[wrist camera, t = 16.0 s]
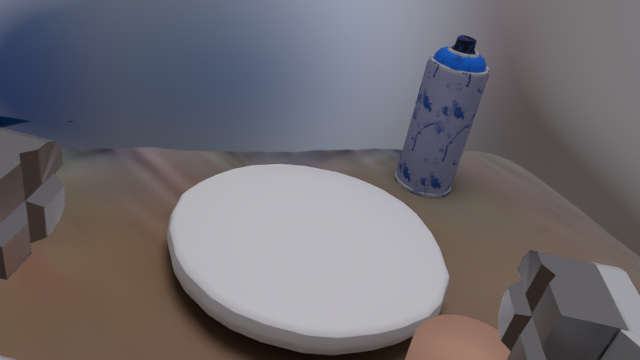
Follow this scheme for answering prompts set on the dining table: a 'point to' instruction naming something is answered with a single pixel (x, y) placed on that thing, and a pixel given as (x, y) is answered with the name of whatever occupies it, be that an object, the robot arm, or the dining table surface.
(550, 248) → the dining table surface
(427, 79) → the aerosol can
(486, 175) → the dining table surface
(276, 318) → the plate
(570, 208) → the dining table surface
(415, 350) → the salmon pink cylinder
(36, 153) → the robot arm
